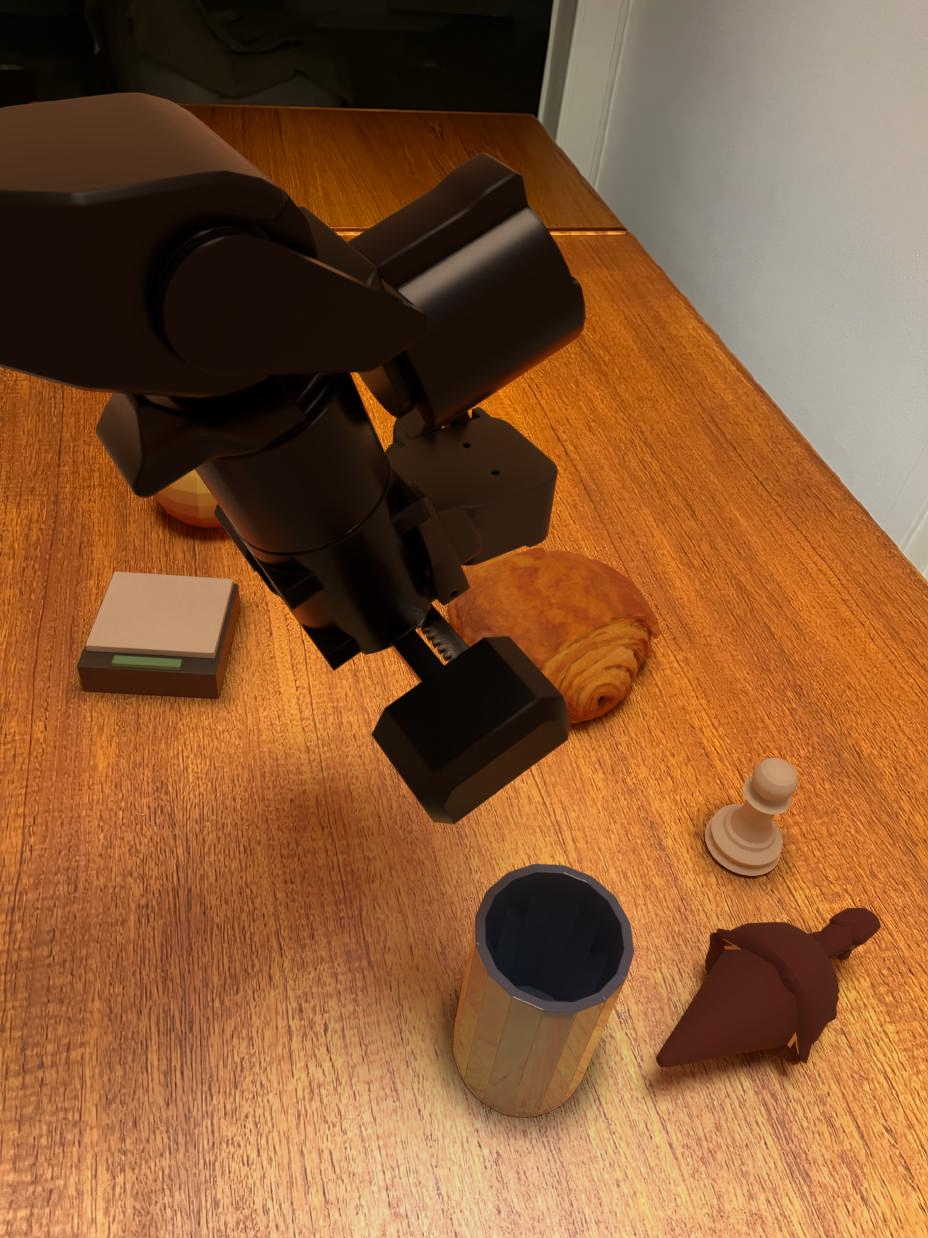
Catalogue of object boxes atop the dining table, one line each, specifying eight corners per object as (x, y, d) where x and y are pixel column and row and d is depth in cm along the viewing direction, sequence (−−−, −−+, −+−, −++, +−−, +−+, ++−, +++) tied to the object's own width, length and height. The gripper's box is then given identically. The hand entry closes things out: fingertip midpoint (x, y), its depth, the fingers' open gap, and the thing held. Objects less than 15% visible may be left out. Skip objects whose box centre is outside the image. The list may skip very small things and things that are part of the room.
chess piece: (777, 887, 59) (822, 811, 53) (700, 866, 59) (737, 788, 54) (780, 825, 62) (823, 747, 57) (706, 805, 63) (742, 725, 57)
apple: (287, 481, 83) (283, 400, 78) (259, 553, 76) (253, 470, 71) (174, 466, 84) (162, 384, 78) (135, 537, 77) (120, 452, 71)
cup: (452, 1115, 48) (476, 1008, 40) (453, 980, 53) (474, 860, 44) (591, 1120, 48) (643, 1015, 40) (579, 985, 53) (623, 867, 45)
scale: (82, 691, 65) (74, 660, 63) (117, 599, 71) (110, 568, 69) (218, 698, 66) (214, 668, 63) (240, 607, 72) (237, 577, 70)
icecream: (743, 1127, 42) (939, 972, 50) (647, 971, 45) (847, 847, 53) (670, 1149, 48) (857, 1007, 55) (589, 1009, 51) (777, 891, 58)
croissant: (506, 770, 66) (526, 706, 60) (417, 600, 74) (427, 528, 68) (682, 708, 71) (718, 644, 65) (581, 555, 79) (604, 485, 73)
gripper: (674, 508, 29) (694, 739, 42) (370, 255, 40) (459, 500, 52) (368, 727, 27) (486, 899, 40) (135, 402, 38) (286, 618, 51)
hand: (428, 703), depth 46 cm, fingers open, 9 cm apart
